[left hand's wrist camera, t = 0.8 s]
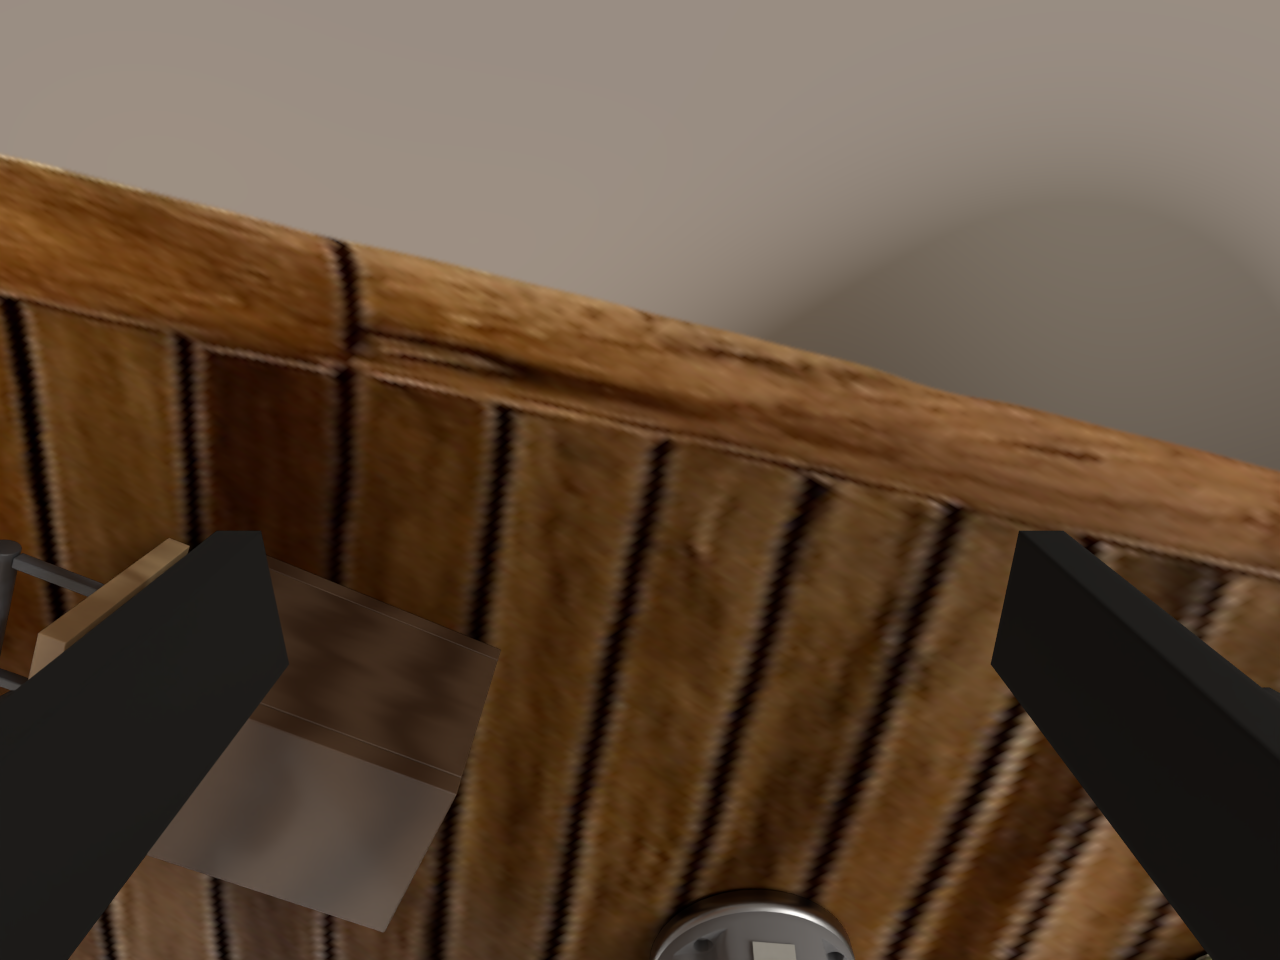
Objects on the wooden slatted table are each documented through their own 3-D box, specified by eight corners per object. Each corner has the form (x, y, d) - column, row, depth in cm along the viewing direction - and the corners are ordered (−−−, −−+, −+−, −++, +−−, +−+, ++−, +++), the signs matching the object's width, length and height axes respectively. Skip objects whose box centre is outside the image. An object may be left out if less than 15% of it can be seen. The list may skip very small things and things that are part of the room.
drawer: (40, 624, 43) (-117, 737, 34) (67, 496, 40) (-96, 584, 31) (388, 753, 46) (328, 885, 37) (438, 644, 43) (386, 760, 34)
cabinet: (178, 670, 45) (34, 819, 34) (220, 536, 42) (74, 655, 31) (441, 767, 48) (384, 933, 37) (501, 649, 44) (456, 794, 34)
